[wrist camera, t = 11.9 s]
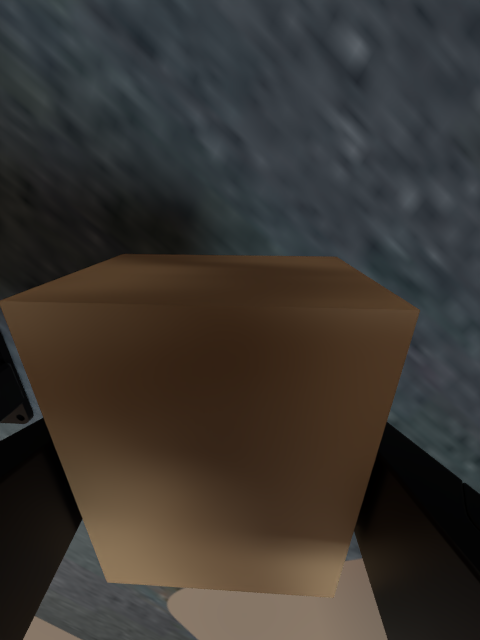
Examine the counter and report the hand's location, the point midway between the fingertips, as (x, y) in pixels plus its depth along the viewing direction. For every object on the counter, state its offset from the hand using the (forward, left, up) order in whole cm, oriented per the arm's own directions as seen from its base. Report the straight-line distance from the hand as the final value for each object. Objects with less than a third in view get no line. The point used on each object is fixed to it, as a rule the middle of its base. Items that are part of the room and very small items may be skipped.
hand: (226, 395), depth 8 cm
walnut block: (0, 0, -1) cm, 1 cm away
